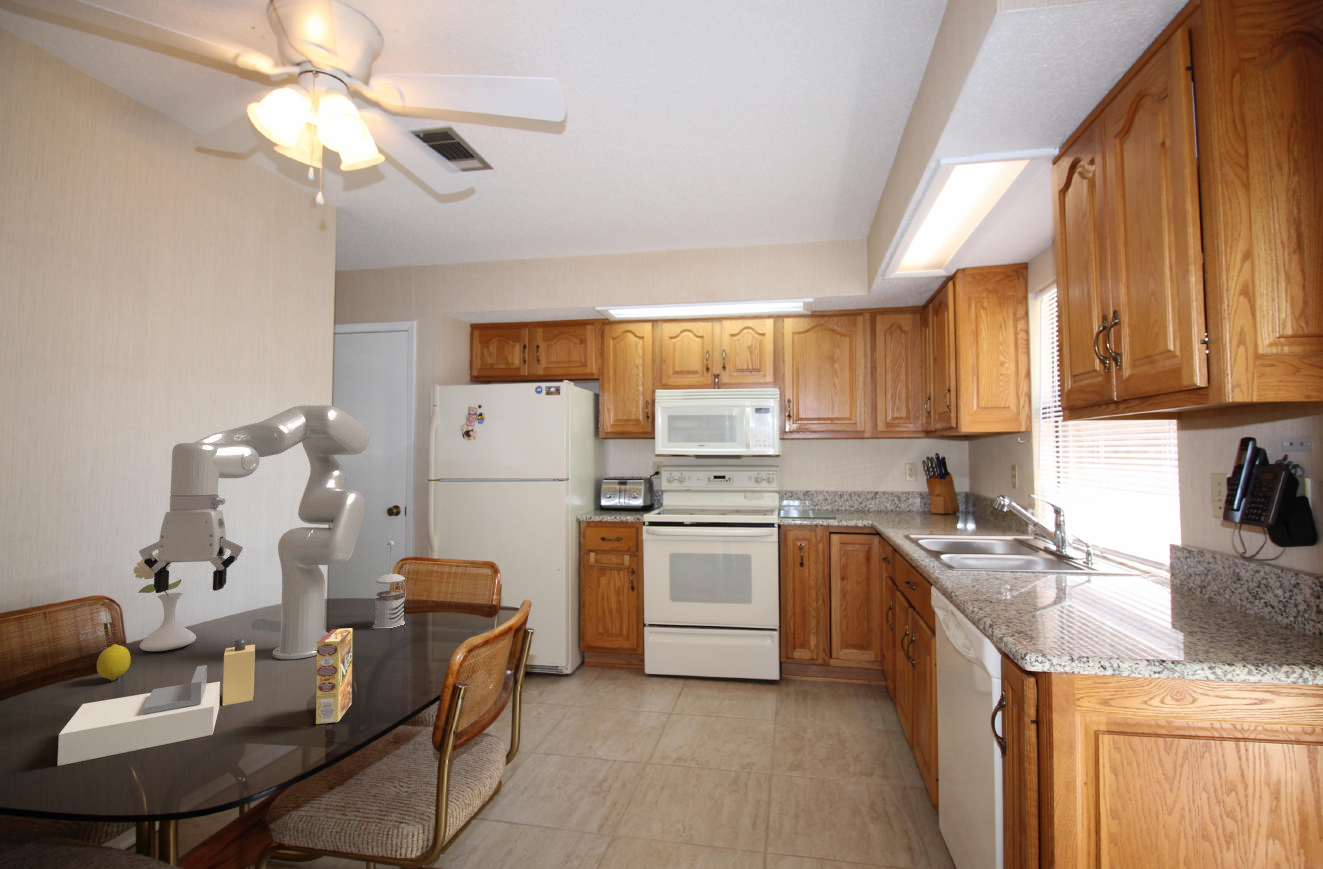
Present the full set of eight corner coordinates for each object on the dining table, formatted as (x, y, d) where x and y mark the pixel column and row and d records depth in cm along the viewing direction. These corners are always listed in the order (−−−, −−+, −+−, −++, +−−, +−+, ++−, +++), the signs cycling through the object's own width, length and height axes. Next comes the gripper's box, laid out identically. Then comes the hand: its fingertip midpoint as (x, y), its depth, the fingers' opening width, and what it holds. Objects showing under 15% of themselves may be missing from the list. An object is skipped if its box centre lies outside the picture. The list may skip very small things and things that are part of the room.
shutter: (206, 685, 115) (207, 665, 116) (200, 703, 107) (201, 681, 107) (152, 694, 111) (153, 673, 111) (142, 714, 103) (143, 690, 103)
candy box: (339, 723, 111) (340, 640, 112) (314, 725, 110) (316, 641, 111) (352, 703, 120) (354, 627, 120) (329, 705, 119) (331, 628, 119)
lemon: (109, 686, 129) (110, 649, 129) (89, 684, 130) (90, 647, 130) (136, 677, 134) (137, 641, 134) (117, 675, 135) (118, 639, 135)
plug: (253, 692, 126) (255, 634, 126) (252, 700, 121) (254, 641, 122) (224, 697, 123) (226, 638, 123) (222, 705, 119) (224, 645, 119)
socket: (219, 706, 118) (220, 681, 118) (212, 734, 106) (213, 706, 106) (81, 732, 107) (82, 704, 107) (57, 765, 95) (58, 734, 96)
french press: (363, 630, 171) (365, 542, 172) (388, 619, 182) (389, 537, 183) (394, 631, 169) (396, 543, 170) (417, 620, 180) (418, 538, 181)
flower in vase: (193, 638, 162) (196, 547, 163) (199, 648, 154) (202, 551, 155) (129, 649, 153) (132, 552, 154) (131, 660, 145) (135, 557, 146)
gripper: (251, 502, 124) (248, 584, 124) (154, 503, 120) (150, 588, 119) (234, 505, 117) (231, 592, 116) (131, 506, 113) (126, 596, 112)
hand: (190, 590), depth 118 cm, fingers open, 9 cm apart
